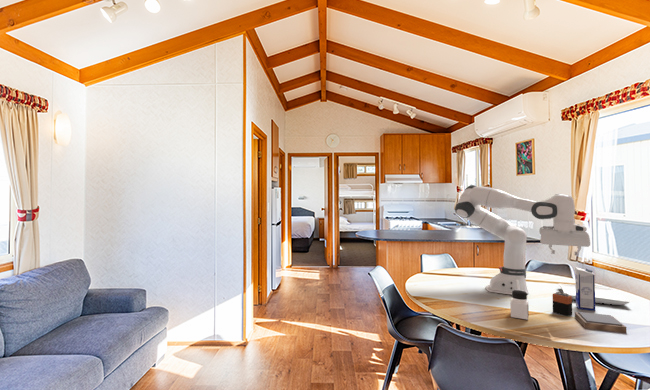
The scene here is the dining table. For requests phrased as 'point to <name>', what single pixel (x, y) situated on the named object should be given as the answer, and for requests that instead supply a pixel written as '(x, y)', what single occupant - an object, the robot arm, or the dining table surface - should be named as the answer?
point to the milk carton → (585, 289)
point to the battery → (562, 303)
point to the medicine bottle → (519, 304)
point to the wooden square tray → (600, 322)
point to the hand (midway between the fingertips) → (564, 254)
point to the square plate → (598, 294)
